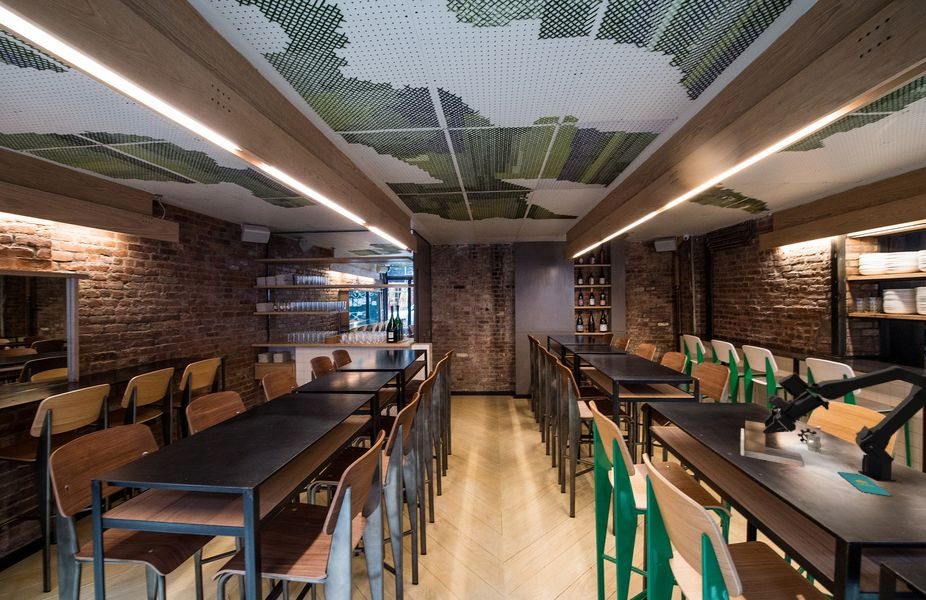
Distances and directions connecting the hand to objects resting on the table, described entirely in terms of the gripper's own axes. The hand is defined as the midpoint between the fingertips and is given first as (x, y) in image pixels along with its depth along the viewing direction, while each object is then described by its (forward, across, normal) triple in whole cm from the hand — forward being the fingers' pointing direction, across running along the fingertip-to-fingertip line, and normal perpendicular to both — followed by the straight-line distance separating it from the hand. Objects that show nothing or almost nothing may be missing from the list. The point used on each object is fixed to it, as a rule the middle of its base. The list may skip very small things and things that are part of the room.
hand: (763, 429), depth 150 cm
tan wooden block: (+8, 0, +5) cm, 9 cm away
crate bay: (+5, 0, +9) cm, 10 cm away
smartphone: (-11, +10, +25) cm, 29 cm away
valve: (-4, -19, +18) cm, 27 cm away
